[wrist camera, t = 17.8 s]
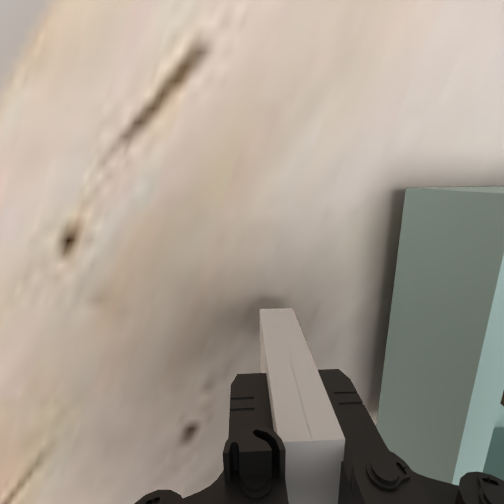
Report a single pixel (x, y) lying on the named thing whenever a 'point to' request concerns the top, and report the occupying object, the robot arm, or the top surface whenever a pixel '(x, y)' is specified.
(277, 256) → the top surface
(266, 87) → the top surface
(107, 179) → the top surface
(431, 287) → the tray
